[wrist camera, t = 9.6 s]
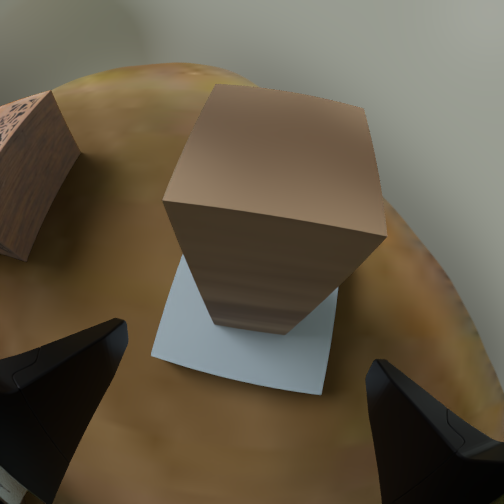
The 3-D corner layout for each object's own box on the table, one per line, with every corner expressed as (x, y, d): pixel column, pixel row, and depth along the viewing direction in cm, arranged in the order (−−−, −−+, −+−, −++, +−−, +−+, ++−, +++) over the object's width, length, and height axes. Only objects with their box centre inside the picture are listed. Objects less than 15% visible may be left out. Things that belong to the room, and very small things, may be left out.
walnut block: (284, 335, 17) (387, 236, 5) (213, 324, 17) (162, 200, 5) (292, 269, 19) (363, 108, 7) (226, 259, 19) (215, 83, 7)
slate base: (311, 393, 17) (321, 395, 15) (160, 358, 18) (150, 355, 16) (332, 256, 22) (342, 242, 20) (202, 227, 23) (198, 210, 20)
